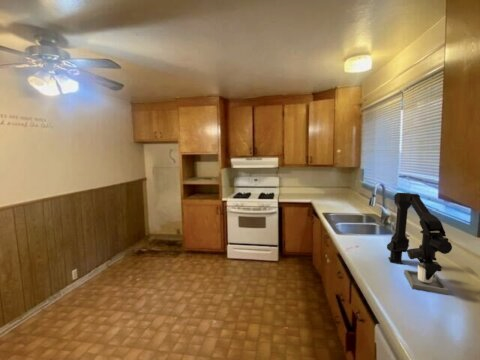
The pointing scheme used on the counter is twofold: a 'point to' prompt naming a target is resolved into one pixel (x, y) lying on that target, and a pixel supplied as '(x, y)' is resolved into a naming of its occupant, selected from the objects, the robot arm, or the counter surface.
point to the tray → (434, 286)
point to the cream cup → (423, 274)
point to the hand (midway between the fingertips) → (425, 276)
